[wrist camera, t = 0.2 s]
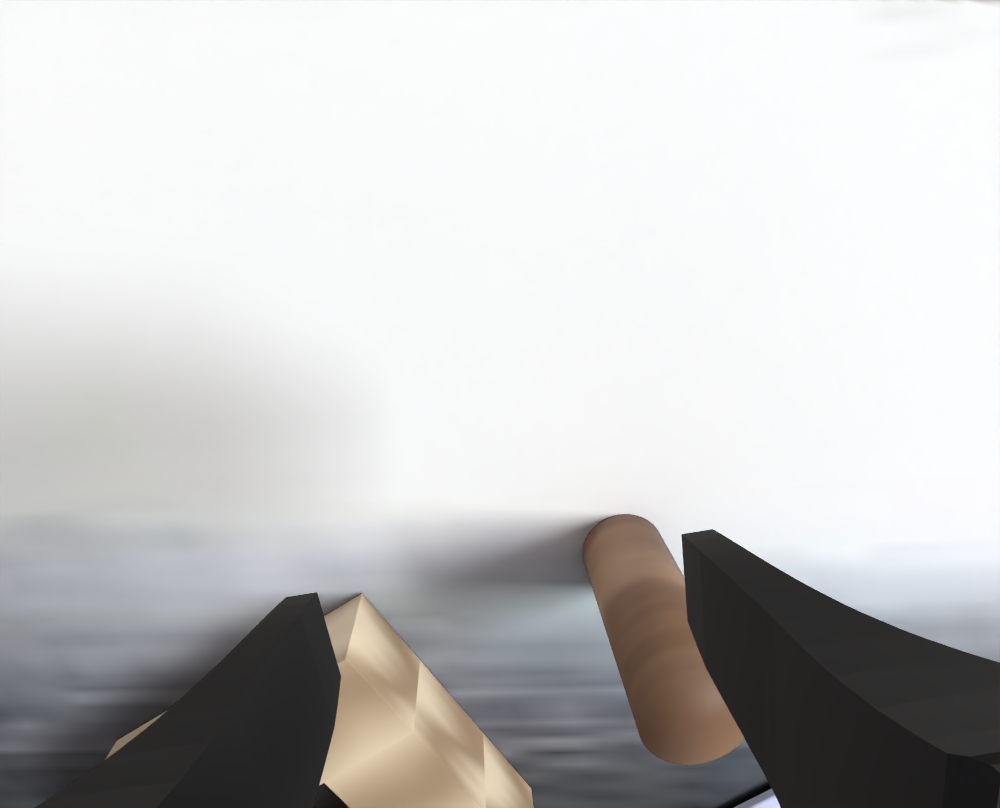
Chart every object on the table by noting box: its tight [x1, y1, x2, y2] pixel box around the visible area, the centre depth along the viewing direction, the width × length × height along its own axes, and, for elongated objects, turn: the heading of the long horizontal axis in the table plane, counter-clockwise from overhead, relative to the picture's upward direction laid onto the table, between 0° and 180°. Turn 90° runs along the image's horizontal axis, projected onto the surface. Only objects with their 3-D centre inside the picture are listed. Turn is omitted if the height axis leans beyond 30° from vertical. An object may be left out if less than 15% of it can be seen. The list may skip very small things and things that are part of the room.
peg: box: [583, 515, 744, 765], centre depth 20 cm, size 3×3×8 cm
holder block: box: [106, 594, 533, 808], centre depth 25 cm, size 12×12×4 cm
